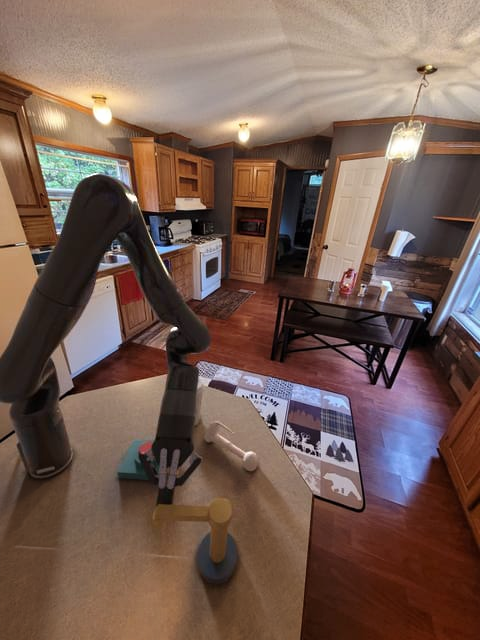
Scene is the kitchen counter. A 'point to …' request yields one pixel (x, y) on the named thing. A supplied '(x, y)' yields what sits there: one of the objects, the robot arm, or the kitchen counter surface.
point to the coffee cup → (199, 400)
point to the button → (145, 447)
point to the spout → (194, 514)
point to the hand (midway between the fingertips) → (163, 510)
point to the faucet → (230, 445)
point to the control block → (135, 463)
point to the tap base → (217, 557)
